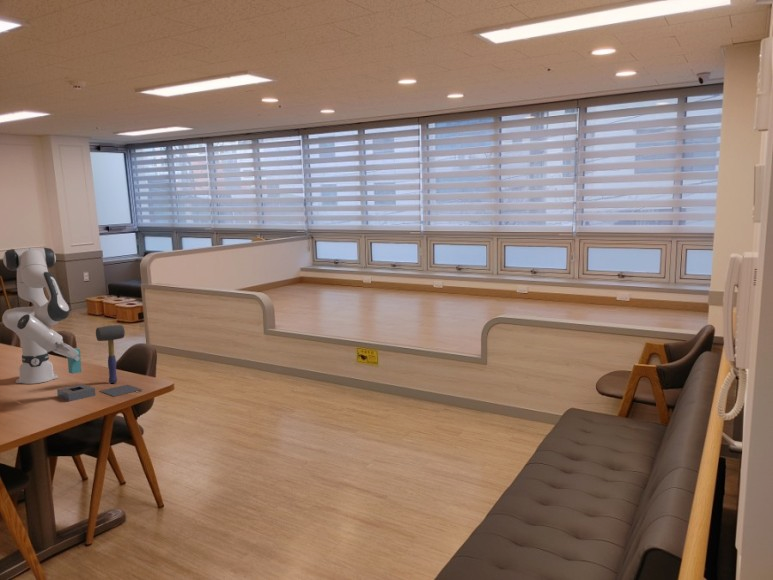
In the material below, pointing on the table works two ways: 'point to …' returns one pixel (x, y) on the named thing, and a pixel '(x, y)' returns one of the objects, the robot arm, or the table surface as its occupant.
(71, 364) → the peg
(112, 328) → the rubber mallet
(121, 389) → the pad
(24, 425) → the table surface
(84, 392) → the socket base
